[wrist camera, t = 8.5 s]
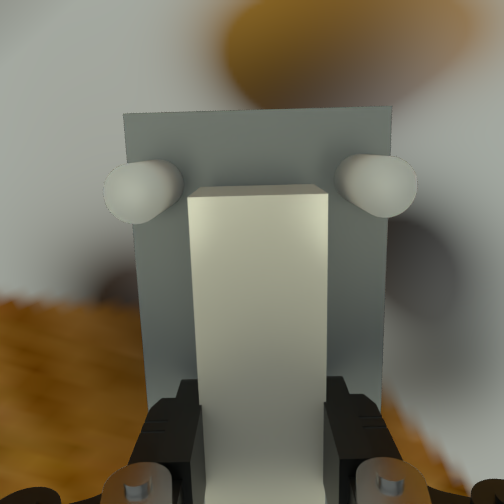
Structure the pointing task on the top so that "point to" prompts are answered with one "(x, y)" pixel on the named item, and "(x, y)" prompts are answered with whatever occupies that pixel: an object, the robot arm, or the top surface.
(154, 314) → the grey pegged tray
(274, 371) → the clay strip
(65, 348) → the top surface
